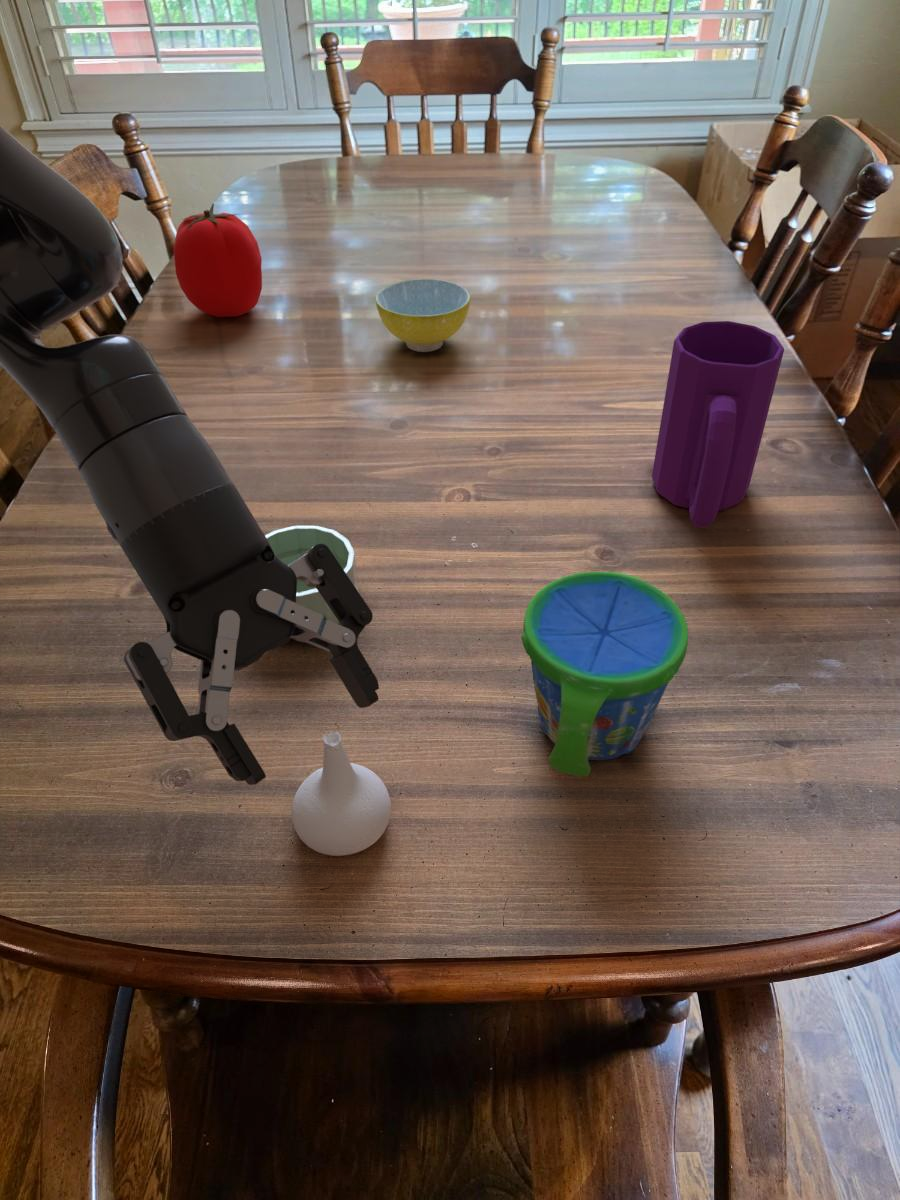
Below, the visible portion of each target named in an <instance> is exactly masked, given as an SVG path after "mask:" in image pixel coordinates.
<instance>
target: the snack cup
mask: <svg viewBox="0 0 900 1200" xmlns="http://www.w3.org/2000/svg"><path fill="white" fill-rule="evenodd" d="M521 641H522V642H521V643H522V646H523V649H524V651H525V653H526V654H527V655H528V657H529V659H530V660H531V661H530V664H531V672H532V678H533V685H534V686H533V687H534V692H535V698H536V703H537V713H538V717H539V719H540V724H541V729H542V732H543V734H544V735H546V736H547V737H548V738H549V740H550V741H551V742H552V743H553V744H554V746H553V749H552V751H551V752H550V754H549V757H548V761H549V765H550V767H551V768H553V769H554V770H556V771H558V772H560V773H562V774H566V775H567V774H568V775H572V776H576V777H587V776H588V775H589V774H591V770H592V769H591V765H590V762H589V761H605V760H613V759H614V760H615V759H617V758H618V757H620V756H623V755H628V754H630V753H631V752H632V751H634V750H635V749H636V748H637V746H638V745H639V743H640V741H641V740H642V738H643V737H644V735H645V732H646V731H647V729H648V727H649V725H650V724H651V721H652V719H653V717H654V715H655V714H656V713H655V712H656V710H657V708H658V707H659V704H660V702H661V700H662V698H663V696H664V694H665V691H666V689H667V687H668V684H669V682H671V680H672V679H673V678H674V677H675V675H676V674H677V673H678V672H679V669H680V668H681V666H682V664H683V662H684V660H685V657H686V654H687V650H688V645H689V644H688V643H689V629H688V623H687V619H686V617H685V615H684V614H683V612H682V611H681V609H680V607H679V606H678V605H677V604H676V602H674V601H673V599H671V597H670V596H669V595H668V594H666V593H665V592H663V591H662V590H661V589H659V588H658V587H656V586H655V585H652V584H651V583H649V582H646V581H644V580H642V578H641V577H637V576H634V575H630V574H626V573H622V572H616V571H585V572H584V571H583V572H578V573H573V574H569V575H566V576H563V577H561V578H557V579H555V580H553V581H551V582H549V583H548V584H546V585H545V586H544V587H542V588H541V589H540V590H538V591H537V593H536V594H535V595H534V596H533V597H532V598H531V600H530V601H529V603H528V605H527V607H526V609H525V613H524V618H523V627H522V634H521Z"/></svg>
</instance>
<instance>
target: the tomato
mask: <svg viewBox="0 0 900 1200" xmlns="http://www.w3.org/2000/svg"><path fill="white" fill-rule="evenodd" d="M214 207H215V203H212V204H211V205H210V208H209V209H205V210H203V213H198V214H193V215H192V214H191V215H190V216H188V217H185V218H182V219H181V223H180V224H179V225H178V227H177V231H176V235H175V238H174V240H175V241H174V245H173V257H174V268H175V276H176V278H177V282H178V284H179V287H180V289H181V291H182V292H183V294H184V296H185V297H186V299H187V300H188V302H190V303H191V304H192V305H193V306H194V307H195V308H196V309H197V310H199V311H201V312H203V313H206V314H207V315H210V316H213V317H216V318H231V317H240V316H242V315H245V314H247V313H249V312H251V311H252V310H253V309H254V308H255V307H256V306H257V304H258V303H259V300H260V296H261V292H262V289H263V271H262V260H263V259H262V256H261V251H260V247H259V243H258V241H257V239H256V238H255V236H254V234H253V233H252V231H251V229H250V227H249V226H248V225H247V224H246V222H244V221H243V220H241V219H240V218H239V217H238V216H237V215H239V213H235V214H234V213H228V212H221V213H216V214H215V213H214Z"/></svg>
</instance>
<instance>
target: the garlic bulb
mask: <svg viewBox="0 0 900 1200" xmlns="http://www.w3.org/2000/svg"><path fill="white" fill-rule="evenodd" d="M321 741H322V743H323V766H322V767H320V768H318V769H316V770H314V771H313V772H311V773H310V774H309V775H308V776H307V777H306V778H305V779H304V780H303V781H302V782H301V784H300V786H299V787H298V789H297V790H296V793H295V794H294V797H293V802H292V804H291V805H292V806H291V819H292V824H293V827H294V830H295V832H296V834H297V836H298V838H299V839H300V840H301V841H302V843H304V844H305V845H306V846H307V847H308V848H310V849H312V850H313V851H315V852H317V853H320V854H323V855H327V856H332V857H333V856H335V857H343V856H349V855H353V854H354V855H355V854H357V853H360V852H362V851H364V850H367V849H368V848H370V847H371V846H372V845H374V844H375V843H376V842H377V841H379V839H380V838H381V837H382V836H383V834H384V833H385V831H386V830H387V827H388V825H389V824H390V819H391V812H392V804H391V803H392V802H391V796H390V793H389V791H388V789H387V787H386V784H385V783H384V782H383V780H382V779H381V777H380V776H378V775H377V774H376V773H375V772H374V771H372V770H371V769H369V768H368V767H366V766H363V765H361V764H357V763H354V762H351V761H350V759H349V756H348V754H347V753H348V752H347V751H346V748H345V746H344V744H343V742H342V735H341V733H339V732H337V731H330V732H325V733H324V734H323V736H322V737H321Z"/></svg>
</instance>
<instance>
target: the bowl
mask: <svg viewBox="0 0 900 1200" xmlns="http://www.w3.org/2000/svg"><path fill="white" fill-rule="evenodd" d="M375 303H376V304H375V305H376V309H377V312H378V315H379V317H380V319H381V322H382V324H383V325H384V327H385V328H386V329H387V330H388V331H389V332H390V333H391V334H392V335H393V336H394V337H396V338H397V339H399V340H401V341H402V342H405V344H406V347H407V348H408V350H409V349H410V350H411V351H414V352H417V353H430V352H435V351H437V350H439V349H441V348H442V346H443V343H444V341H446V340H448V339H450V338H451V337H452V336H454V335H455V334H456V333H457V332H458V331H459V330H460V329H461V327H462V326H463V324H464V323H465V321H466V319H467V317H468V314H469V313H468V312H469V309H470V305H471V295H470V292H469V291H468V290H467V289H466V288H465V287H463V286H462V285H460V284H457V283H455V282H453V281H449V280H443V279H438V278H437V279H435V278H415V279H407V280H402V281H398V282H394V283H392V284H389V285H387V286H385V287H383V288H382V289H381V290H379V291H378V292H377V294H376V295H375Z"/></svg>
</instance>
